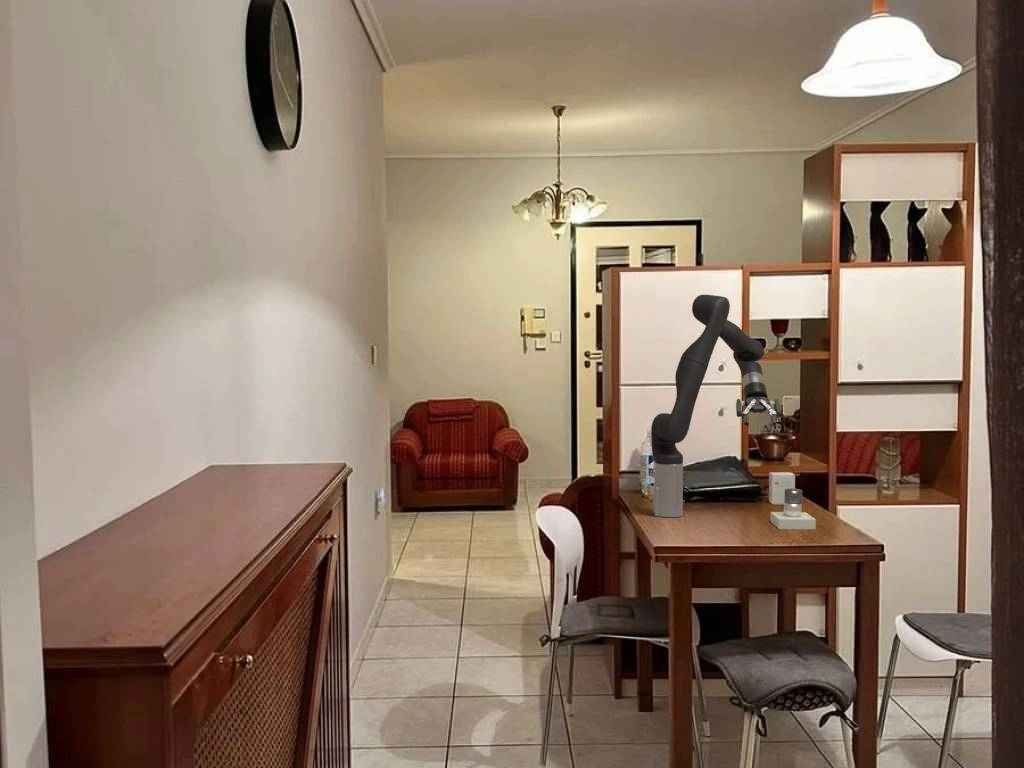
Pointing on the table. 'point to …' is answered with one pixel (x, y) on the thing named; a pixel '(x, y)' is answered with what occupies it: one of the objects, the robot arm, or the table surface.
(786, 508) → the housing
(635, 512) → the table surface
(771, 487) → the small box
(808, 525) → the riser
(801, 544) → the table surface
